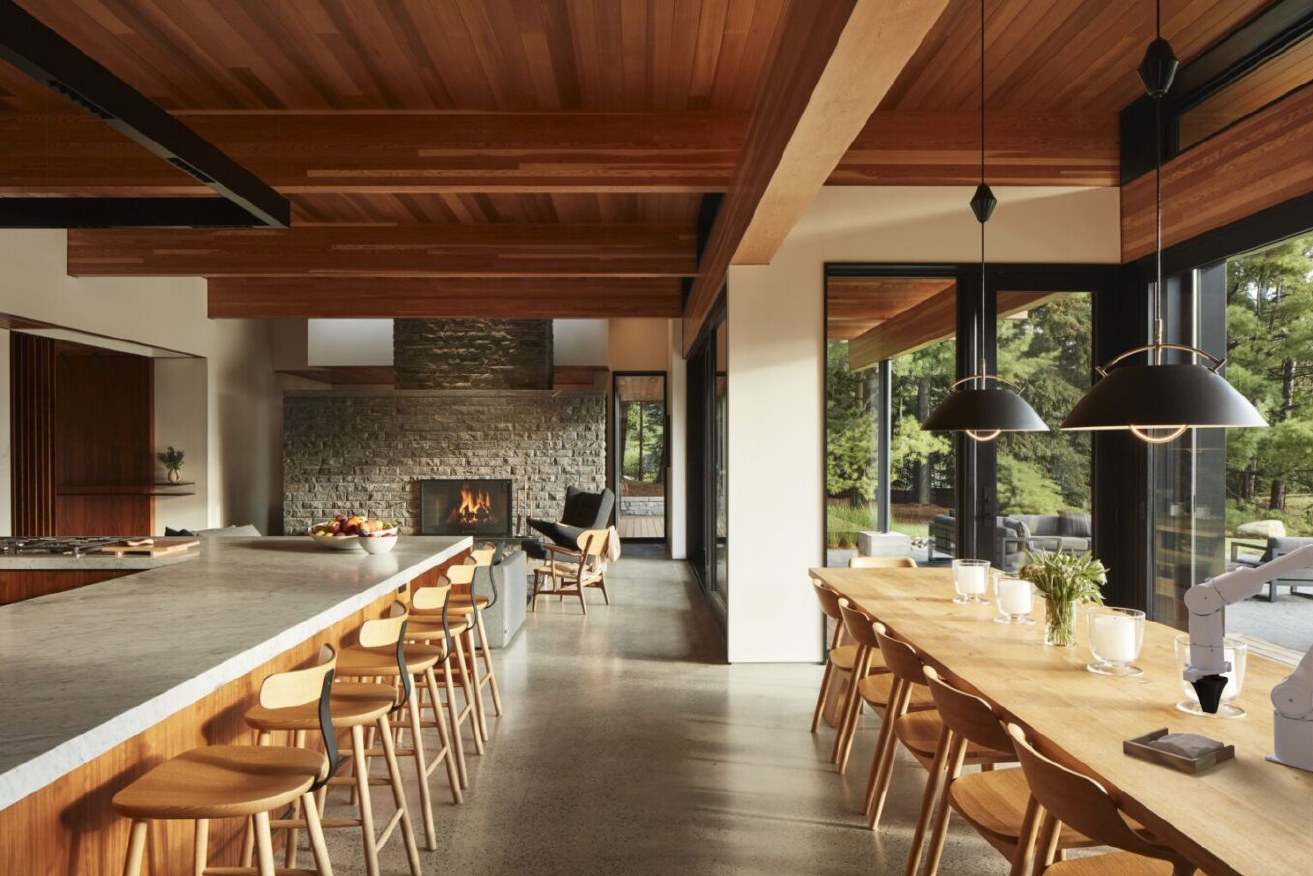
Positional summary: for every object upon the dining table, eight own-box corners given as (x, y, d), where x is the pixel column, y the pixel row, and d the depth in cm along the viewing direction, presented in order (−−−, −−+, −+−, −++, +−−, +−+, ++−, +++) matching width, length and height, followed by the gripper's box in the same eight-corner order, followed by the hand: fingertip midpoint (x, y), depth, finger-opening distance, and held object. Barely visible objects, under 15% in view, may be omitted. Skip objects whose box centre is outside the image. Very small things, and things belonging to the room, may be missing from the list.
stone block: (1145, 766, 160) (1199, 772, 152) (1139, 740, 161) (1193, 744, 153) (1177, 756, 166) (1231, 760, 158) (1171, 731, 167) (1225, 734, 159)
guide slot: (1234, 757, 158) (1234, 745, 158) (1192, 773, 151) (1192, 761, 151) (1165, 738, 169) (1165, 727, 170) (1123, 752, 162) (1122, 741, 162)
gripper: (1204, 636, 174) (1207, 701, 173) (1165, 645, 166) (1168, 713, 166) (1241, 642, 167) (1244, 709, 167) (1203, 652, 160) (1206, 722, 160)
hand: (1209, 712), depth 166 cm, fingers closed
